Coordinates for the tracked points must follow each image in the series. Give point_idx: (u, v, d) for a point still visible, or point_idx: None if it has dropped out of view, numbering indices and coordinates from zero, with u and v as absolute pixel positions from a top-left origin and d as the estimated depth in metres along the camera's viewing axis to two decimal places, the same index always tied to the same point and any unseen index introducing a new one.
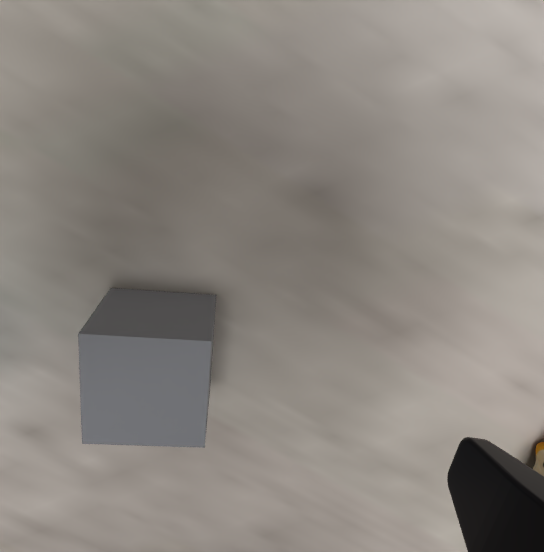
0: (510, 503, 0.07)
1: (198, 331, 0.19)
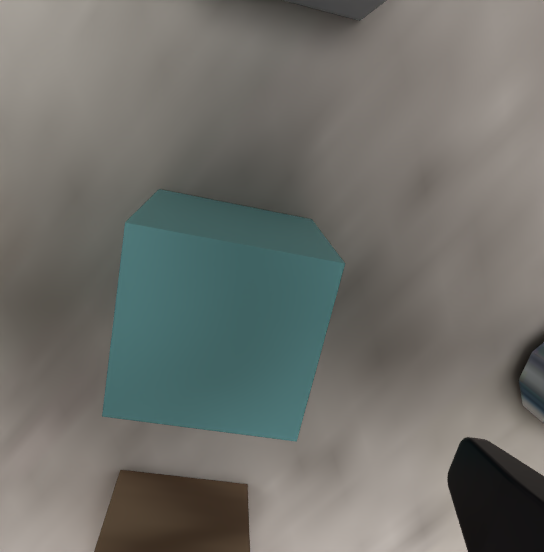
0: (510, 503, 0.07)
1: None
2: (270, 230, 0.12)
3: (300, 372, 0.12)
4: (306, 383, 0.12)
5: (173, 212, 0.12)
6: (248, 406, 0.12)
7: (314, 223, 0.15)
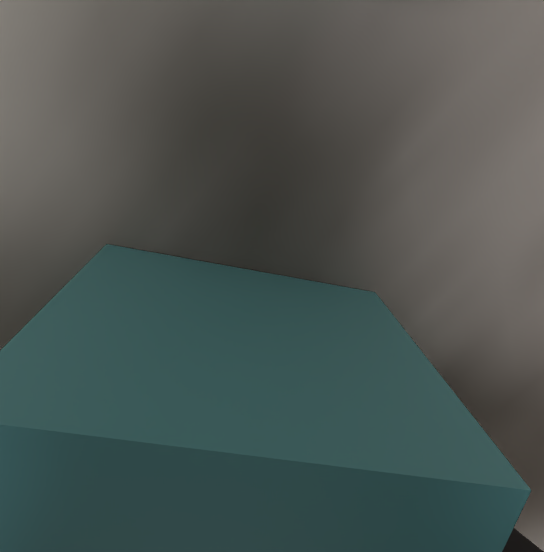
0: None
1: None
2: (320, 355, 0.06)
3: None
4: None
5: (109, 324, 0.05)
6: None
7: (385, 306, 0.08)
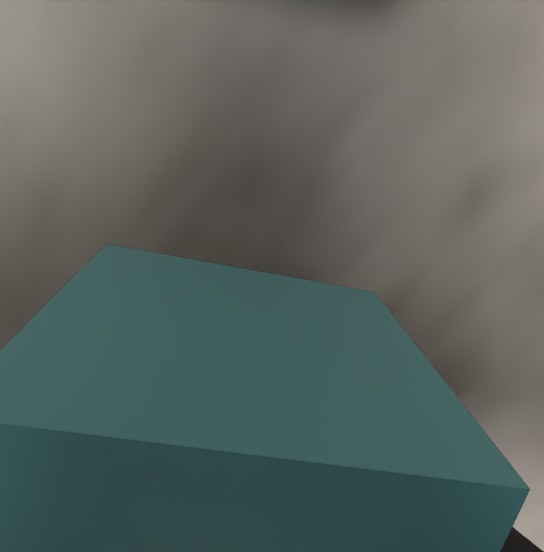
0: None
1: None
2: (319, 354, 0.06)
3: None
4: None
5: (110, 324, 0.06)
6: None
7: (385, 306, 0.08)
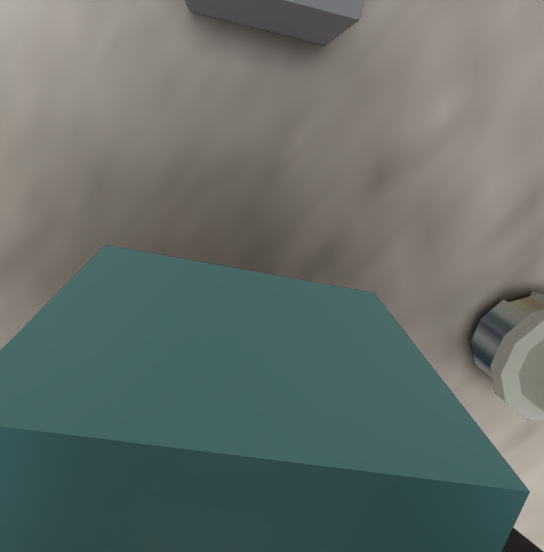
0: None
1: None
2: (319, 356, 0.06)
3: None
4: None
5: (108, 325, 0.05)
6: None
7: (384, 307, 0.08)
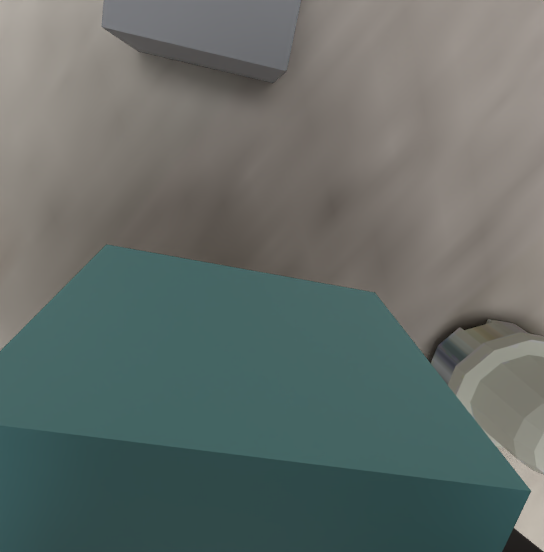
0: None
1: None
2: (320, 356, 0.06)
3: None
4: None
5: (109, 325, 0.05)
6: None
7: (385, 306, 0.08)
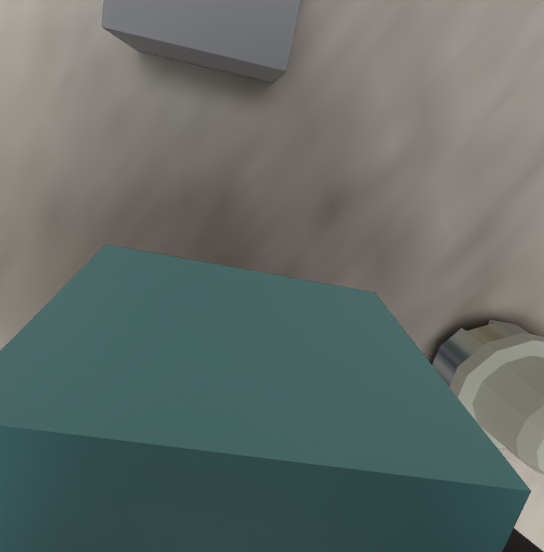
0: None
1: None
2: (320, 356, 0.06)
3: None
4: None
5: (109, 325, 0.05)
6: None
7: (385, 306, 0.08)
